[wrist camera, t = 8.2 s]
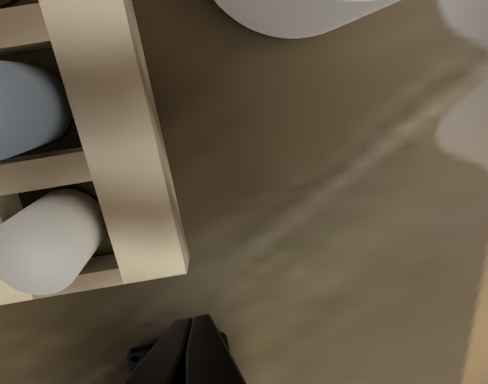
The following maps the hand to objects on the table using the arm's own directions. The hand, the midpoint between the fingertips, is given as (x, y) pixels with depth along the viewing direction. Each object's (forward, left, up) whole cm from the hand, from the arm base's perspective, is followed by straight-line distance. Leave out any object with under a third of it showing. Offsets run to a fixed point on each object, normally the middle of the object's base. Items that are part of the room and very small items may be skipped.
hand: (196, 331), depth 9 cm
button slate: (+6, +8, -12) cm, 15 cm away
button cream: (-1, +8, -12) cm, 14 cm away
